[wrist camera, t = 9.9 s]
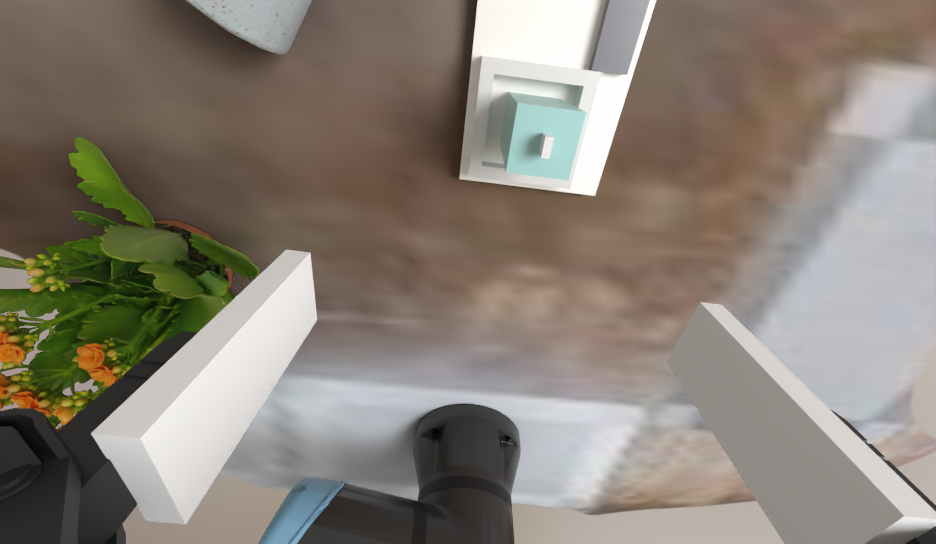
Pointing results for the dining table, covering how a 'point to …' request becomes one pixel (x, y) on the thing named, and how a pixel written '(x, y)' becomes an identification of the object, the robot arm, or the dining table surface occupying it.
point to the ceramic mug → (258, 20)
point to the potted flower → (108, 297)
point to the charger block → (540, 136)
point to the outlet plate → (551, 78)
